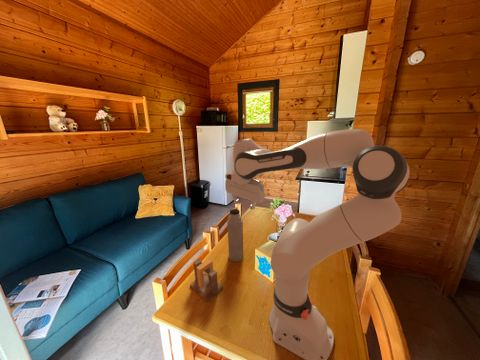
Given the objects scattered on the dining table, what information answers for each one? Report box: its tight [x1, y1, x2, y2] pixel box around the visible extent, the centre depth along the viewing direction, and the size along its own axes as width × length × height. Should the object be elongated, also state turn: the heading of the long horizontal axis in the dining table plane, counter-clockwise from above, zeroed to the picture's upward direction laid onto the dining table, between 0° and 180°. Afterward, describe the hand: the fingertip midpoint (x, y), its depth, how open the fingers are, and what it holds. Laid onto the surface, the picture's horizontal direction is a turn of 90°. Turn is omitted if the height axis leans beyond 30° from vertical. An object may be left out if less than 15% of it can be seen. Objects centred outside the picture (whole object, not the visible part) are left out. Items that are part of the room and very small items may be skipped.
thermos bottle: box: [227, 208, 244, 262], centre depth 106 cm, size 8×8×28 cm
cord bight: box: [196, 258, 214, 288], centre depth 89 cm, size 2×7×10 cm, turn 138°
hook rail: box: [189, 258, 224, 302], centre depth 89 cm, size 12×9×11 cm
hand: (244, 206), depth 91 cm, fingers open, 8 cm apart
